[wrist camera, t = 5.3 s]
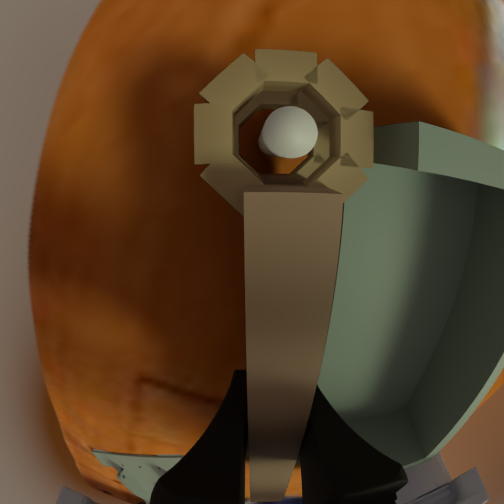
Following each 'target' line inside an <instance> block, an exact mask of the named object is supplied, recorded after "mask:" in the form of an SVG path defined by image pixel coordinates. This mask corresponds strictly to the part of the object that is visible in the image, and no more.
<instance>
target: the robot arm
mask: <svg viewBox="0 0 504 504" xmlns="http://www.w3.org/2000/svg"><path fill="white" fill-rule="evenodd" d="M247 438H248V404H247V370H235V371H234V373H233V377H232V381H231V384H230V386H229V389H228V391H227V394H226V396H225V398H224V400H223V402H222V404H221V406H220V408H219V410H218V412H217V413H216V415H215V417H214V418H213V420H212V422H211V423H210V425H209V426H208V428H207V429H206V431H205V432H204V433H203V435H202V436H201V437H200V439H199V440H198V441H197V442H196V444H195V445H194V446H193V447H192V448H191V449H190V450H189V452H188V453H187V454H186V455H185V456H184V457H183V458H182V459H181V460H180V461H179V462H178V463H176V464H175V465H174V466H173V467H172V468H171V469H169V470H168V471H167V472H166V473H165V474H163V475H162V476H161V477H160V478H159V479H158V480H157V482H156V484H155V486H154V488H153V491H152V493H151V497H150V502H149V504H245V456H246V446H247ZM299 455H300V464H301V477H302V497H303V504H484V503H486V502H487V501H488V500H489V497H488V494H487V492H486V489H485V487H484V484H483V482H482V480H481V478H480V475H479V473H478V471H477V468H476V467H473V468H472V469H470V470H468V471H467V472H465V473H463V474H461V475H460V476H458V477H457V478H455V479H454V480H452V479H451V477H450V474H449V472H448V469H447V467H446V465H445V462H444V460H443V458H442V456H441V453H440V451H439V452H438V453H437V454H436V455H435V456H434V457H433V458H432V459H431V460H429V461H427V462H424V463H422V464H419V465H417V466H414V467H411V468H409V469H406V470H404V468H403V467H402V465H401V464H400V463H398V462H396V461H394V460H393V459H391V458H389V457H388V456H386V455H384V454H383V453H381V452H380V451H378V450H377V449H375V448H374V447H373V446H371V445H370V444H369V443H368V442H366V441H365V440H364V439H363V438H361V437H360V436H359V435H358V434H357V433H356V432H355V431H354V430H353V429H352V428H351V427H350V426H349V425H348V424H347V423H346V422H345V421H344V420H343V419H342V418H341V417H340V415H339V414H338V413H337V412H336V411H335V409H334V408H333V407H332V406H331V404H330V403H329V401H328V400H327V399H326V397H325V396H324V394H323V393H322V391H321V390H320V388H319V387H318V385H317V386H316V390H315V395H314V399H313V403H312V407H311V411H310V415H309V418H308V422H307V426H306V429H305V433H304V437H303V440H302V443H301V447H300V450H299ZM56 504H99V503H96V502H94V501H93V500H91V499H90V498H88V497H87V496H85V495H83V494H81V493H78V492H76V491H74V490H72V489H69V488H68V487H65V486H62V488H61V491H60V493H59V496H58V499H57V502H56Z"/></svg>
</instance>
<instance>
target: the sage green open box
mask: <svg viewBox="0 0 504 504" xmlns="http://www.w3.org/2000/svg"><path fill="white" fill-rule="evenodd" d="M317 137H318V130H317V126H316V123H315V121H314V119H313V118H312V116H311V115H310V114H309V113H308V112H306V111H305V110H303V109H301V108H298V107H294V106H285V107H281V108H278V109H276V110H275V111H273V112H272V113H271V114H270V115H269V116H268V118H267V120H266V122H265V124H264V127H263V129H262V131H261V134H260V136H259V139H258V145H259V148H260V150H261V151H262V152H263V153H265V154H267V155H270V156H278V157H285V158H298V157H301V156H304V155H305V154H307V153H308V152H310V151H311V150H312V148H313V147H314V145H315V143H316V141H317ZM359 168H360V167H359ZM360 169H361V170H362V171H363V173H364V174H365V175H366V177H367V178H368V180H367V181H366V182H365V183H364V184H363V185H362V186H361V187H360V188H359V189H358V190H357V191H356V192H355V193H354V194H352V195H351V196H350V197H349V198H348V199H347V200H346V201H345V202H344V203H343V211H342V224H341V235H340V246H339V255H338V264H337V272H336V280H335V287H334V295H333V301H332V308H331V314H330V320H329V326H328V332H327V338H326V343H325V348H324V353H323V358H322V363H321V368H320V373H319V377H318V382H317V385H318V387H319V388H320V390H321V391H322V393H323V394H324V396H325V397H326V399H327V400H328V401H329V403H330V404H331V406H332V407H333V408H334V409H335V411H336V412H337V413H338V414H339V415H340V417H341V418H342V419H343V420H344V421H345V422H346V423H347V424H348V425H349V426H350V427H351V428H352V429H353V430H354V431H355V432H356V433H357V434H358V435H359V436H360V437H361V438H363V439H364V440H365V441H366V442H368V443H369V444H370V445H371V446H373V447H374V448H375V449H377V450H378V451H380V452H381V453H383V454H384V455H386V456H388V457H389V458H391V459H393V460H394V461H396V462H398V463H400V464H401V465H402V467H403V468H404V470H406V469H409V468H411V467H414V466H417V465H419V464H422V463H424V462H427V461H429V460H431V459H432V458H433V457H434V456H435V455H436V454H437V453H438V452H439V451H440V450H441V449H442V448H443V447H444V446H445V445H446V444H447V443H448V441H449V440H450V439H451V438H452V437H453V436H454V435H455V434H456V433H457V431H458V430H459V429H460V428H461V427H462V426H463V424H464V423H465V422H466V421H467V419H468V418H469V417H470V416H471V414H472V413H473V412H474V411H475V409H476V408H477V407H478V405H479V404H480V402H481V401H482V400H483V398H484V397H485V395H486V394H487V393H488V391H489V390H490V388H491V387H492V385H493V384H494V382H495V381H496V379H497V377H498V376H499V374H500V372H501V371H502V369H503V367H504V151H503V150H501V149H499V148H497V147H494V146H492V145H489V144H487V143H484V142H482V141H479V140H477V139H474V138H471V137H469V136H466V135H463V134H460V133H457V132H454V131H451V130H448V129H445V128H441V127H438V126H434V125H431V124H427V123H424V122H420V121H417V122H407V123H399V124H391V125H384V126H377V127H374V149H373V169H370V168H360Z"/></svg>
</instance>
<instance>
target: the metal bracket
mask: <svg viewBox="0 0 504 504" xmlns="http://www.w3.org/2000/svg"><path fill="white" fill-rule="evenodd" d="M92 451H93V452H92V453H93V454H94V455H95V456H96V458H97V459H98V460H99V461H100V462H101V463H102V464H103V465H104V466H110V467H114V468H115V469H116V470H117V471H118V473H117V478H118V479H119V480H120V481H121V482H122V483H123V484H124V485H125V486H126V487H127V488H128V489H129V490H130V491H131V492H132V493H133V494H135V495H136V496H138V497H140V498H142V499H144V500H145V502H146V504H149V502H150V497H151V493H152V491H153V488H154V486H155V484H156V482H157V480H158V479H159V478H160V477H161V476H162V475H163V474H165V473H166V472H167V471H168V470H169V469H171V468H172V467H173V466H174V465H175V464H176V463H178V462H179V461H180V460H181V459H182V458H183V457H184V455H156V456H155V455H133V454H120V453H111V452H107V451H101V450H94V449H93V450H92Z"/></svg>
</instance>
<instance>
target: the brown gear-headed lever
mask: <svg viewBox="0 0 504 504" xmlns="http://www.w3.org/2000/svg"><path fill="white" fill-rule="evenodd" d="M199 94H200V95H201V96H202V98H203V99H204V100H205V101H206V102H207V103H203V104H194V164H210V165H209V166H208V167H207V168H206V169H205V170H204V171H203V172H202V173H201V174H200V176H201V177H202V178H203V179H204V180H205V181H206V182H207V183H208V184H209V185H210V186H211V187H212V188H213V189H215V190H216V191H217V192H218V193H219V194H220V195H221V196H222V197H223V198H224V199H225V200H226V201H227V202H228V203H229V204H230V205H231V206H233V207H234V208H235V209H236V210H237V211H238V212H239V213H240V214H241V215H242V216H243V217H244V259H245V317H246V364H247V404H248V439H249V471H250V499H251V502H273V501H282V500H283V498H284V495H285V492H286V489H287V487H288V484H289V481H290V478H291V475H292V472H293V469H294V466H295V463H296V460H297V457H298V453H299V450H300V447H301V443H302V440H303V437H304V433H305V429H306V426H307V422H308V418H309V415H310V411H311V407H312V403H313V399H314V395H315V390H316V386H317V382H318V377H319V373H320V368H321V363H322V358H323V353H324V348H325V343H326V338H327V332H328V326H329V320H330V314H331V308H332V301H333V295H334V287H335V280H336V272H337V264H338V255H339V246H340V235H341V224H342V211H343V203H344V202H345V201H346V200H347V199H348V198H349V197H350V196H351V195H352V194H354V193H355V192H356V191H357V190H358V189H359V188H360V187H361V186H362V185H363V184H364V183H365V182H366V181H367V180H368V178H367V177H366V175H365V174H364V173H363V171H362V170H361V169H360V168H370V169H373V149H374V119H373V112H371V111H365V110H360V109H361V108H362V107H363V106H364V105H365V104H366V103H368V102H369V101H368V99H367V98H366V97H365V96H364V95H363V94H362V93H361V92H360V90H359V89H358V88H357V87H356V86H355V85H354V84H353V83H352V82H351V81H350V80H349V79H348V78H347V77H346V76H345V75H344V73H343V72H342V71H341V70H340V69H339V68H338V67H337V66H335V65H334V64H333V63H332V62H331V61H330V60H329V59H328V58H327V59H326V60H324V61H323V62H322V63H320V64H319V65H318V66H317V53H314V52H304V51H292V50H273V49H255V62H254V61H253V60H252V59H251V58H249V57H248V56H247V55H246V54H244V53H243V54H242V55H241V56H240V57H238V58H237V59H236V60H235V61H234V62H232V63H231V64H230V65H229V66H228V67H227V68H226V69H224V70H223V71H222V72H221V73H220V74H219V75H218V76H217V77H216V78H214V79H213V80H212V81H211V82H210V83H209V84H208V85H207V86H206V87H205V88H204V89H203V90H202V91H201V92H200V93H199ZM285 106H294V107H298V108H301V109H303V110H305V111H306V112H308V113H309V114H310V115H311V116H312V118H313V119H314V121H315V123H316V126H317V130H318V137H317V141H316V143H315V145H314V147H313V148H312V150H311V151H310V152H308V157H307V158H306V159H305V160H304V161H303V162H302V163H301V164H300V165H298V166H297V167H296V168H295V169H294V170H293V171H292V172H291V173H290V174H259V173H258V172H257V171H256V170H255V169H253V168H252V167H251V166H250V165H249V164H248V163H247V162H246V161H245V160H244V159H243V158H242V157H241V156H240V127H241V126H242V125H243V124H244V123H245V122H246V121H247V120H248V119H250V118H251V117H252V116H253V115H254V114H255V113H256V112H257V111H258V110H259V109H278V108H281V107H285ZM329 121H330V122H329ZM359 167H360V168H359Z"/></svg>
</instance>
